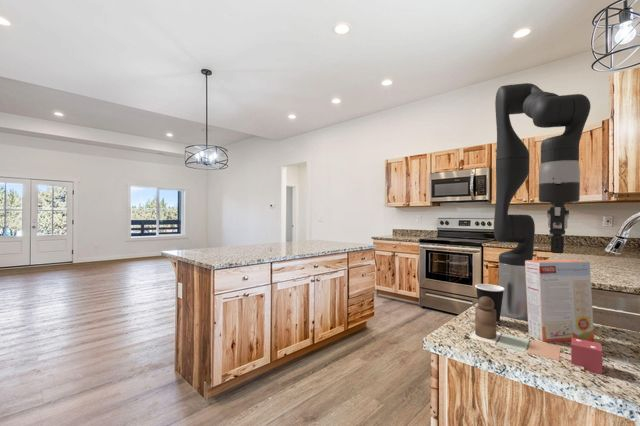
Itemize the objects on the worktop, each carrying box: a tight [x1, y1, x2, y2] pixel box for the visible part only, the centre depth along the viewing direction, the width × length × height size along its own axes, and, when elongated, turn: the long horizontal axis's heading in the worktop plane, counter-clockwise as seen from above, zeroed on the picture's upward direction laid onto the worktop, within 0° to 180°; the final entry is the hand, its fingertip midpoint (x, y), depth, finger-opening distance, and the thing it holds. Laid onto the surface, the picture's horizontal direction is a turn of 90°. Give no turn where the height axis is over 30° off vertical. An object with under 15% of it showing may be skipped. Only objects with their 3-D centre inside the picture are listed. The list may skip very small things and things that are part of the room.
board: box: [468, 330, 562, 361], centre depth 77 cm, size 11×20×1 cm, turn 50°
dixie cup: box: [475, 283, 505, 324], centre depth 92 cm, size 8×8×11 cm
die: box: [570, 337, 603, 375], centre depth 67 cm, size 5×5×5 cm
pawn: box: [474, 296, 497, 339], centre depth 81 cm, size 5×5×10 cm
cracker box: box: [525, 259, 595, 343], centre depth 81 cm, size 14×6×21 cm, turn 92°
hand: (557, 250), depth 70 cm, fingers open, 8 cm apart
